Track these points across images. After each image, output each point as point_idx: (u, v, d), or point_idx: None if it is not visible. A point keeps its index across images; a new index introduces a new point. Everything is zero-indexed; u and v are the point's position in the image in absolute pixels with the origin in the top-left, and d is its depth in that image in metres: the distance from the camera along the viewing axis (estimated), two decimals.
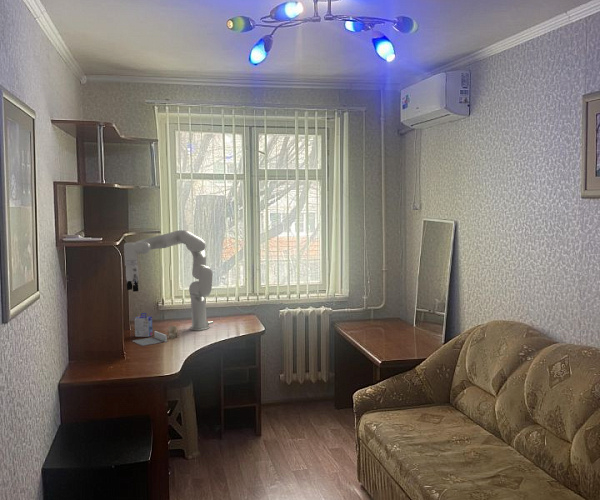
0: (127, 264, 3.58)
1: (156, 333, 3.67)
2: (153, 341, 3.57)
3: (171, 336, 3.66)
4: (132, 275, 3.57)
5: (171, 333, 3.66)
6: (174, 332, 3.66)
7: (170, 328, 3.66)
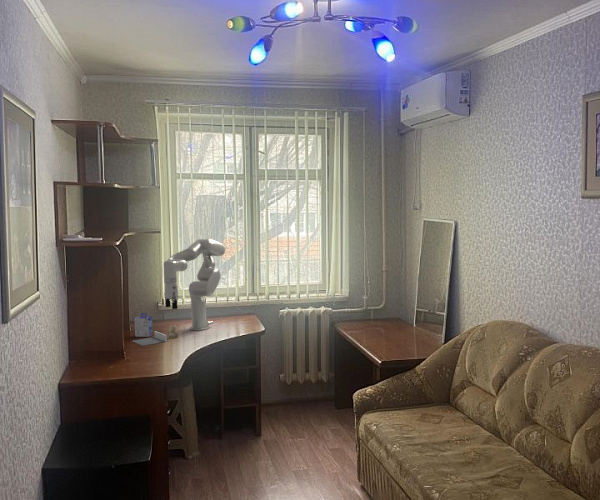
0: (167, 282, 3.62)
1: (156, 333, 3.67)
2: (153, 341, 3.57)
3: (171, 336, 3.66)
4: (172, 293, 3.61)
5: (171, 333, 3.66)
6: (174, 332, 3.66)
7: (170, 328, 3.66)
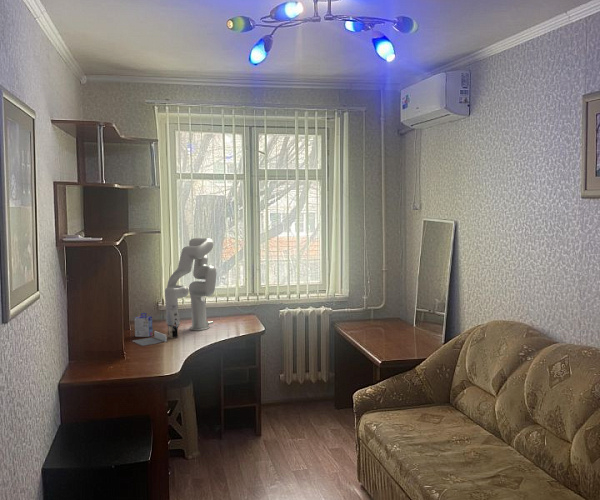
0: (168, 309, 3.64)
1: (156, 333, 3.67)
2: (153, 341, 3.57)
3: (171, 336, 3.66)
4: (173, 320, 3.63)
5: (171, 333, 3.66)
6: None
7: (170, 328, 3.66)
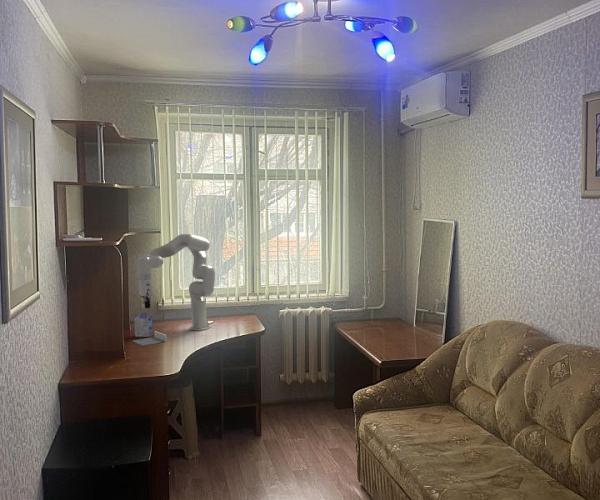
0: (140, 279, 3.52)
1: (156, 333, 3.67)
2: (153, 341, 3.57)
3: (143, 307, 3.54)
4: (145, 290, 3.51)
5: (143, 304, 3.54)
6: None
7: (142, 299, 3.54)
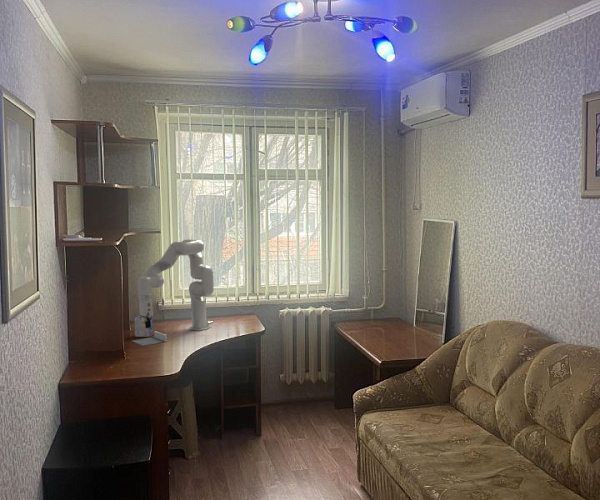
0: (141, 299, 3.53)
1: (156, 333, 3.67)
2: (153, 341, 3.57)
3: (144, 327, 3.55)
4: (146, 310, 3.52)
5: (144, 324, 3.55)
6: None
7: (143, 319, 3.55)
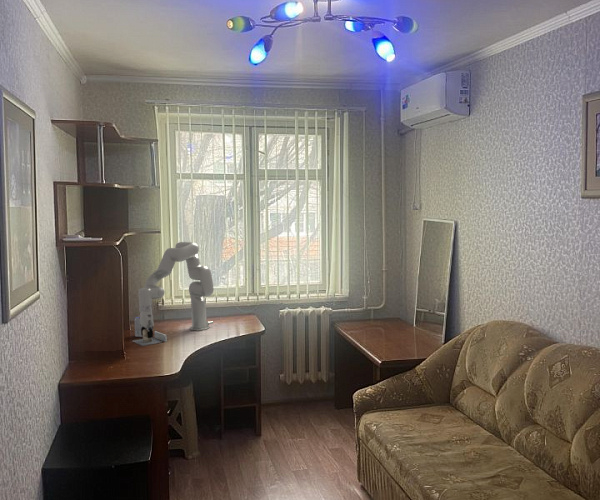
0: (142, 310, 3.53)
1: (156, 333, 3.67)
2: (153, 341, 3.57)
3: (145, 340, 3.56)
4: (147, 321, 3.53)
5: (145, 337, 3.56)
6: None
7: (144, 332, 3.56)
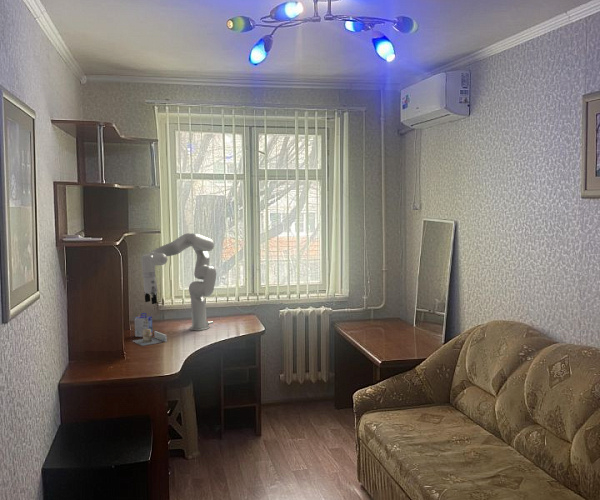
0: (145, 276, 3.56)
1: (156, 333, 3.67)
2: (153, 341, 3.57)
3: (145, 340, 3.56)
4: (150, 287, 3.55)
5: (145, 337, 3.56)
6: (148, 336, 3.56)
7: (144, 332, 3.56)
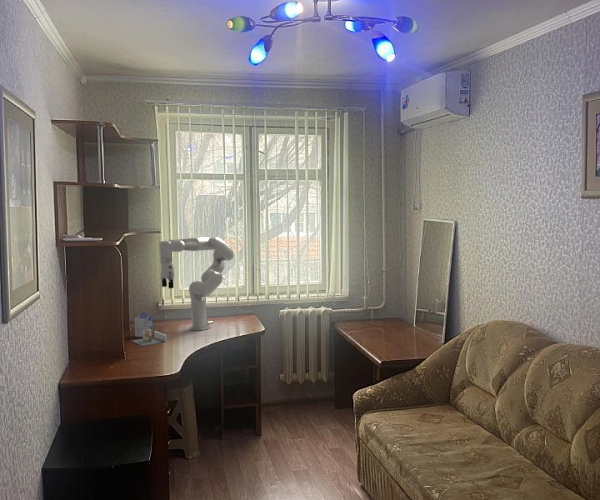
0: (163, 262, 3.70)
1: (156, 333, 3.67)
2: (153, 341, 3.57)
3: (145, 340, 3.56)
4: (168, 272, 3.69)
5: (145, 337, 3.56)
6: (148, 335, 3.56)
7: (144, 332, 3.56)
